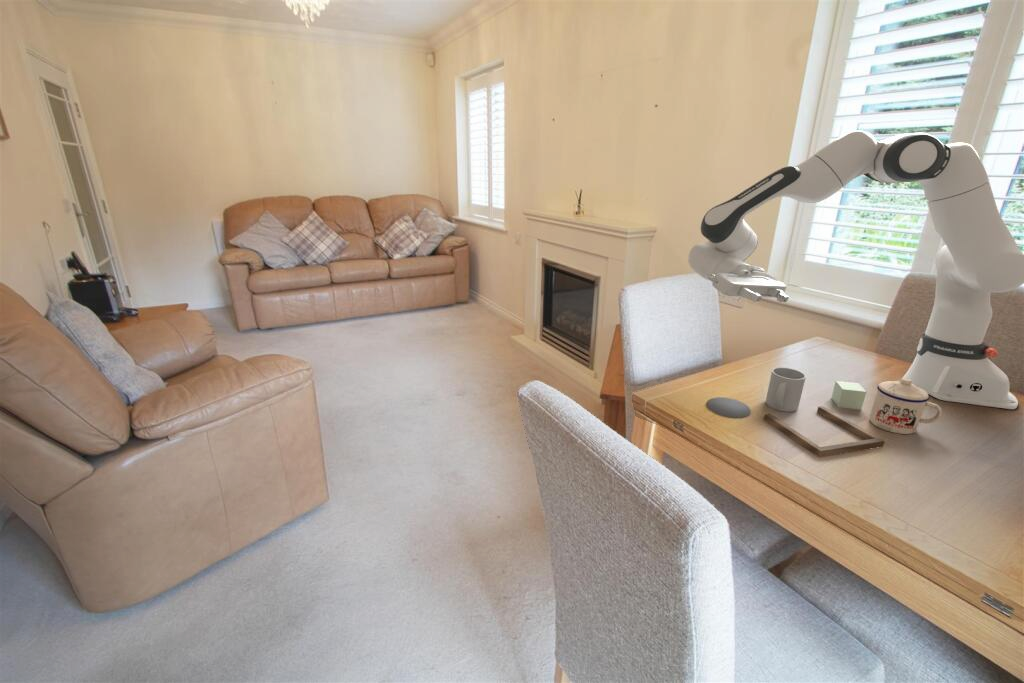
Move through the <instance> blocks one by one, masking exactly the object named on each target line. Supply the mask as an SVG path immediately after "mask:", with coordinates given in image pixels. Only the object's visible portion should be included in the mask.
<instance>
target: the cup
mask: <svg viewBox="0 0 1024 683" xmlns="http://www.w3.org/2000/svg"><path fill="white" fill-rule="evenodd" d="M806 377H807V376H806V374H805V373H804V372H802V371H800V370H797V369H794V368H789V367H782V366H781V367H774V368H772V370H771V375H770V378H769V379H770V380H769V383H768V389H767V394H766V398H765V402H766V403H765V404H766V405H767V406H768V407H770V408H771V409H773V410H776V411H779V412H784V413H792V412H795V411H797V410H799V407H800V403H801V399H802V394H803V390H804V386H805V382H806Z"/></svg>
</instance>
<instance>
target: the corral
mask: <svg viewBox="0 0 1024 683" xmlns="http://www.w3.org/2000/svg"><path fill="white" fill-rule="evenodd" d="M816 413H818V414H820V415H821V416H823V417H824V418H826V419H828V420H830V421H831V422H833V423H835V424H837V425H839V426H840V425H841V426H840V427H842V428H844V429H845V428H846V430H847V429H848V430H847V431H849V432H850V433H852V432H853V433H852V434H854V433H855V435H856V436H858V437H859V436H860V438H861V437H862V438H861V439H862V440H857V441H852V442H845V443H837V444H830V445H825V446H820V445H818V444H817V443H815V442H813V441H812V440H811V439H809V438H807V437H806V436H804V435H803V434H801V433H800V432H798V431H797V430H795V429H794V428H792V427H791V426H789V425H788V424H786V423H784V422H783V421H782V420H780V419H779V418H777V417H776V416H774V415H772V414H771V413H764V416H763V420H764V421H765V422H766V423H768V424H770V425H771V426H773V427H774V428H775V429H777V430H779V431H780V432H781V433H783V434H784V435H786V436H787V437H789V438H790V439H791V440H793V441H794V442H796V443H797V444H798V445H800V446H801V447H803V448H805V449H806V450H807V451H809V452H811V453H812V454H813V455H815V456H816V457H818V458H823V457H828V456H834V455H835V454H836V455H841V454H840V453H842V454H846V453H845V452H848V453H853V451H854V452H860V451H866V450H865V449H867V450H871V449H870V448H873V449H878V448H877V447H879V448H883V447H884V445H885V441H886V440H884V439H882V438H881V437H879V436H877V435H875V434H874V433H871V432H870V431H868V430H866V429H864V428H863V427H861V426H860V425H858V424H855V423H854V422H852V421H850V420H848V419H847V418H844V417H843V416H841V415H839V414H838V413H837V412H836V413H835V412H834V411H832V410H830V409H828V408H827V407H825V406H823V405H819V406H817V410H816ZM863 438H864V439H866V440H864V439H863ZM859 450H860V451H859Z"/></svg>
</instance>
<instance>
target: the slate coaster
mask: <svg viewBox="0 0 1024 683" xmlns="http://www.w3.org/2000/svg"><path fill="white" fill-rule="evenodd" d="M706 408H707V409H708V410H709V411H711V412H712V413H714V414H716V415H719V416H721V417H724V418H730V419H742V418H746V417H749V416H750V414H751V408H750V407H749V406H748V405H747V404H746V403H744V402H742V401H740V400H738V399H735V398H730V397H723V396H720V397H713V398H712V397H711V398H710V399H708V400H707V401H706Z"/></svg>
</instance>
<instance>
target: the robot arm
mask: <svg viewBox="0 0 1024 683" xmlns="http://www.w3.org/2000/svg"><path fill="white" fill-rule="evenodd" d="M863 175H864V176H866V177H867V178H868V179H870V180H872V181H875V182H877V183H878V182H879V183H886V184H899V183H912V182H918V183H919V184H920V186H921V188H922V189H923V192H924V197H925V200H926V203H927V207H928V210H929V213H930V216H931V220H932V223H933V226H934V229H935V231H936V232H937V233H938V234H939V236H940V238H941V239H942V241H943V242H944V245H942V246H941V248H940V249H939V250H938V251H937V253H936V255H935V261H934V262H935V266H936V279H935V293H934V295H935V296H934V301H933V302H934V303H933V307H932V310H931V314H930V318H929V320H928V324H927V326H926V329H925V332H923V333H922V335H921V337H920V339H919V342H918V345H917V349H916V351H917V354H916V355H915V357H914V360H913V362H912V363H911V365H910V367H909V369H908V370H907V371H906V373H905V374H904V376H902V378H907V379H910V380H911V381H912V384H914V385H915V386H917V387H919V388H921V389H923V390H924V391H926V392H927V393H928V395H930V396H931V397H934V398H936V399H938V400H940V401H946V402H953V403H954V402H955V403H961V404H970V405H976V406H983V407H992V408H1001V409H1007V410H1015V409H1017V408H1018V405H1019V401H1018V399H1017V398H1016V396H1015V394H1012V393H1013V392H1010V385H1011V384H1010V379H1009V377H1008V375H1006V373H1005V372H1004V371H1002V370H1001V369H1000V367H998V366H997V365H996V364H995V363H993V361H992V360H990V359H989V358H995V357H997V355H999V354H998V353H999V352H998V351H997V350H996V349H995V348H993V347H991V346H990V345H989V344H987V343H985V342H984V338H985V336H986V333H987V331H988V329H989V325H990V323H991V320H992V318H993V314H994V313H993V308H992V305H991V293H993V294H995V293H996V294H997V293H998V294H999V293H1000V294H1001V293H1007V292H1011V291H1013V290H1015V289H1018V288H1020V287H1021V286H1022V285H1024V253H1023V252H1022V251H1021V249H1020V248H1019V246H1018V244H1017V243H1016V240H1015V239H1014V237H1013V235H1012V233H1011V231H1010V230H1009V228H1008V226H1007V224H1006V223H1005V221H1004V220H1003V218H1002V216H1001V214H1000V211H999V209H998V207H997V204H996V199H995V197H994V193H993V190H992V187H991V182H990V179H989V177H988V173H987V171H986V168H985V166H984V164H983V161H982V160H981V158H980V156H979V155H978V152H977V151H976V150H975V148H974V147H973V146H972V144H969V143H965V142H954V143H949V144H945V143H943V142H942V141H940V140H939V139H938V138H937V137H935V136H934V135H931V134H929V133H925V132H911V133H902V134H897V135H895V136H892V137H889V138H884V139H881V140H876V138H875V137H874V136H873V135H872V134H871V133H869V132H867V131H864V130H860V129H857V130H852V131H849V132H847V133H845V134H843V135H841V136H840V137H837V139H835V140H833V141H832V142H830V143H828V144H827V145H825V146H824V147H822V148H821V149H820V150H818V151H817V152H816V153H814V154H813V155H812V156H811V157H808V159H806V160H804V161H802V162H801V163H799V164H797V165H794V166H790V165H789V166H784V167H782V168H779V169H778V170H776V171H773V172H772V173H771V174H768V175H767V176H765V177H763V178H762V179H761V180H759V181H757V182H756V183H754V184H753V185H751V186H749V187H748V188H747V189H744V190H743V191H742V192H740V193H738V194H737V195H735V196H733V197H732V198H729V199H728V200H726V201H724V202H722V203H720V204H717V205H716V206H713V207H712V208H711V209H709V210H708V211H707V212H706V213H705V215H704V216H703V218H702V221H701V223H700V233H701V234H702V236H703V237H704V238H706V239H707V240H708V241H705V242H699V243H697V244H695V245H694V246H692V248H691V249H690V250H689V254H688V264H689V266H690V269H692V271H694V272H695V273H696V274H697V275H699V276H700V277H702V278H703V279H705V280H707V281H710V282H711V286H712V287H713V288H714V289H715V290H717V291H718V292H720V293H721V295H722V294H723V295H724V296H727V297H737V298H738V297H739V298H741V297H742V298H744V299H748V300H750V301H752V302H754V303H755V302H756V303H759V302H761V299H762V298H773V299H774V298H775V299H776V301H777V302H779V303H782V304H783V303H787V302H788V301H789V296H788V295H786V293H785V291H786V289H787V285H786V284H785V282H783V281H781V280H779V279H778V278H776V277H775V276H773V275H771V274H770V273H767V272H765V269H764V268H762V267H760V266H756V265H752V264H748V263H746V262H745V261H746V260H747V259H748V258H749V257H750V256H751V255H752V254H753V253H754V251H755V250H756V249H757V246H758V243H759V237H758V235H757V234H756V232H755V231H754V229H752V227H751V226H750V225H749V224H748V223H747V222H746V220H745V217H746V216H747V215H749V214H751V213H752V212H754V211H755V210H757V209H759V208H761V207H763V206H764V205H765V204H767V203H769V202H771V201H772V200H774V199H776V198H782V197H784V198H791V199H793V200H795V201H798V202H801V203H804V204H806V203H807V204H815V203H820V202H822V201H825V200H826V199H828V198H830V197H831V196H833V195H834V194H836V193H837V192H839V191H840V190H841V189H842V188H844V187H845V186H847V185H848V184H849V183H851V182H852V181H853V180H854V179H857V178H858V177H861V176H863Z"/></svg>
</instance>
